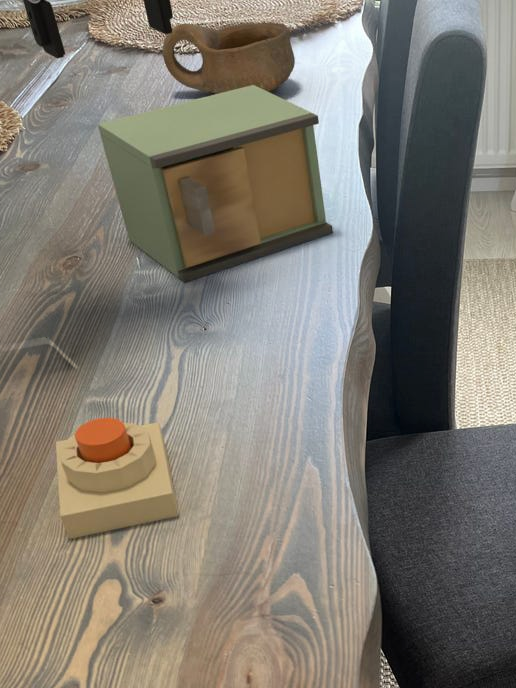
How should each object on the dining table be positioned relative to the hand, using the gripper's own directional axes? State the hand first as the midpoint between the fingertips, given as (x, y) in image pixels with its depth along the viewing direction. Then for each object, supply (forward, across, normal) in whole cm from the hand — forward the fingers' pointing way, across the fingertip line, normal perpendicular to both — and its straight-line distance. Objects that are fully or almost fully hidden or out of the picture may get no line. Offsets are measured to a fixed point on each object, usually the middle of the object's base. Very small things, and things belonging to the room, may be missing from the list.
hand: (109, 42), depth 85 cm
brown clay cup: (+23, -35, -50) cm, 65 cm away
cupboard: (+22, -11, -8) cm, 26 cm away
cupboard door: (+21, -7, 0) cm, 22 cm away
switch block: (+22, +18, +28) cm, 40 cm away
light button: (+19, +18, +28) cm, 38 cm away
